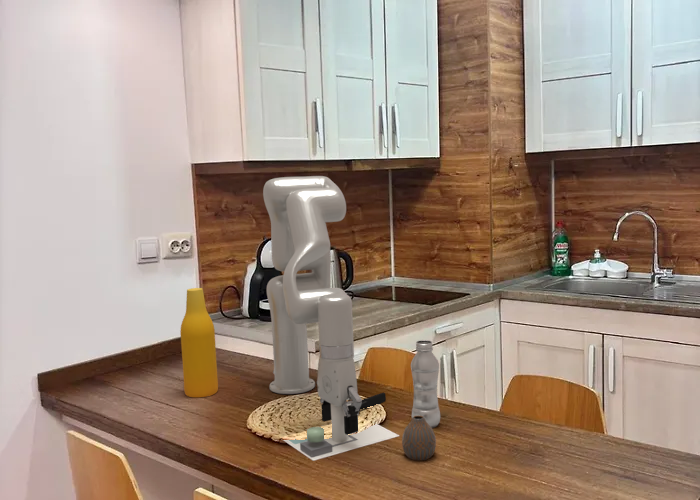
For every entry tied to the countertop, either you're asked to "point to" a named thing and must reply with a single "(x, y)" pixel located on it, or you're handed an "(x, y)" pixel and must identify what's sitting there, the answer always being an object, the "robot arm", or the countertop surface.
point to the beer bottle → (198, 347)
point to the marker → (338, 424)
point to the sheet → (350, 441)
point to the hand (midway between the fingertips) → (339, 426)
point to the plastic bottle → (425, 383)
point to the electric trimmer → (372, 401)
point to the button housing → (316, 448)
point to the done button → (315, 434)
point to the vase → (418, 439)
